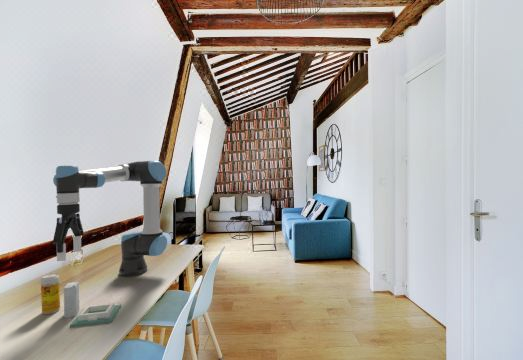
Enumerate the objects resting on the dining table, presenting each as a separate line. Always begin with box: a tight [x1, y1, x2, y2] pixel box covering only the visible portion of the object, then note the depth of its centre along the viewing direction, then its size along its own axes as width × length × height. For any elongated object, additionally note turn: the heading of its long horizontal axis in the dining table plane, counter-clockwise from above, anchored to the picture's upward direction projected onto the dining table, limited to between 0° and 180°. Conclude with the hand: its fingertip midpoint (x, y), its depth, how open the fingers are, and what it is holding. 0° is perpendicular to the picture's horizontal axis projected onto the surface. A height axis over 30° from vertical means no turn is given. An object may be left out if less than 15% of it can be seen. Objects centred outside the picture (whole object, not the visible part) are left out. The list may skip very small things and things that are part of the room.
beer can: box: [40, 273, 61, 315], centre depth 115 cm, size 6×6×15 cm
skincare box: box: [63, 281, 80, 319], centre depth 112 cm, size 6×4×12 cm
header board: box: [69, 302, 122, 328], centre depth 110 cm, size 13×14×3 cm
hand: (70, 255), depth 112 cm, fingers open, 13 cm apart
